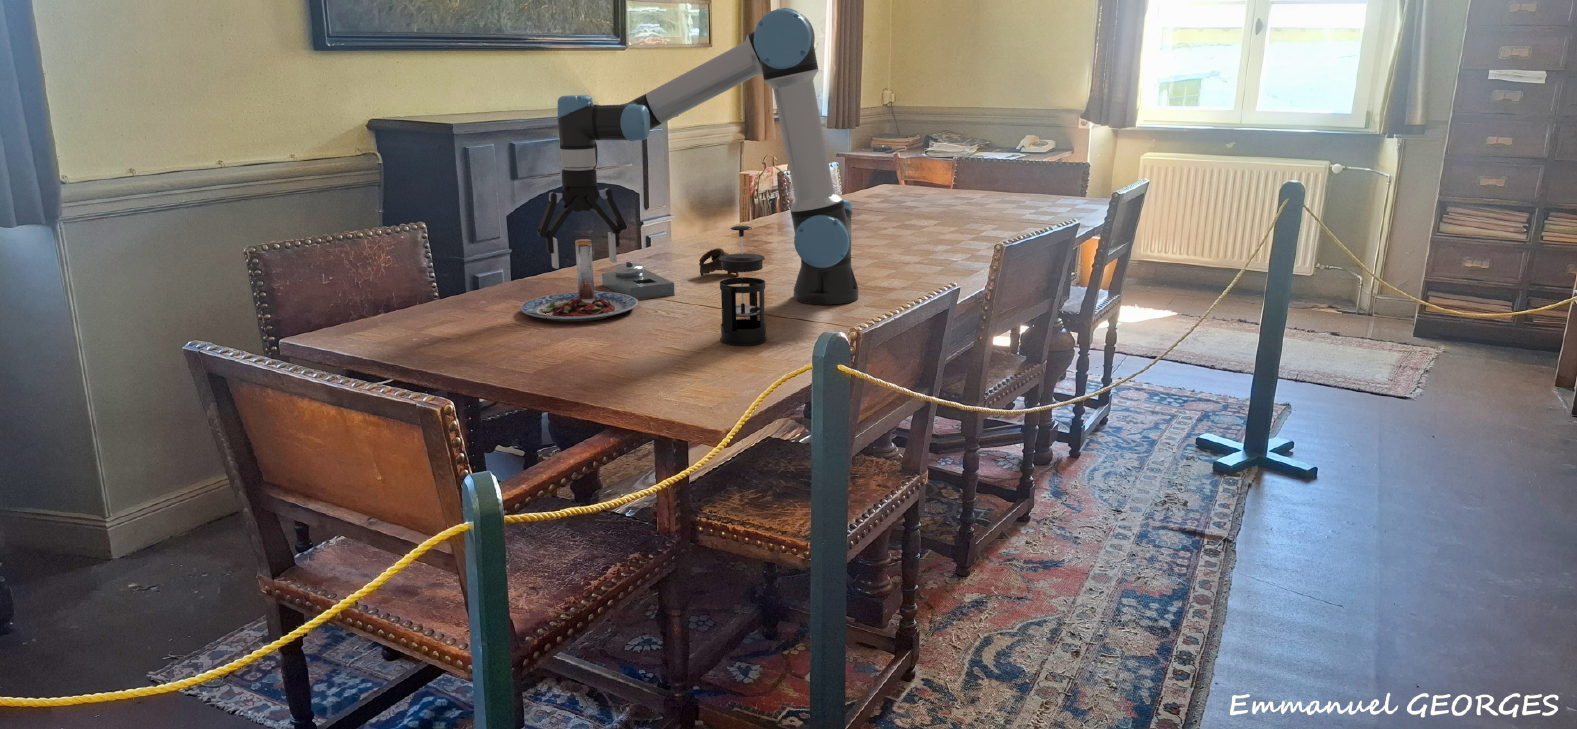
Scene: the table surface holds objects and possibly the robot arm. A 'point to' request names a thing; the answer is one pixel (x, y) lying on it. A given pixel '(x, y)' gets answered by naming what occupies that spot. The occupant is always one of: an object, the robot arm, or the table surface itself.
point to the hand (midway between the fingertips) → (584, 264)
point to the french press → (742, 329)
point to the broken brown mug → (715, 263)
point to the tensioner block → (637, 282)
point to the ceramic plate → (579, 306)
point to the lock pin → (584, 269)
